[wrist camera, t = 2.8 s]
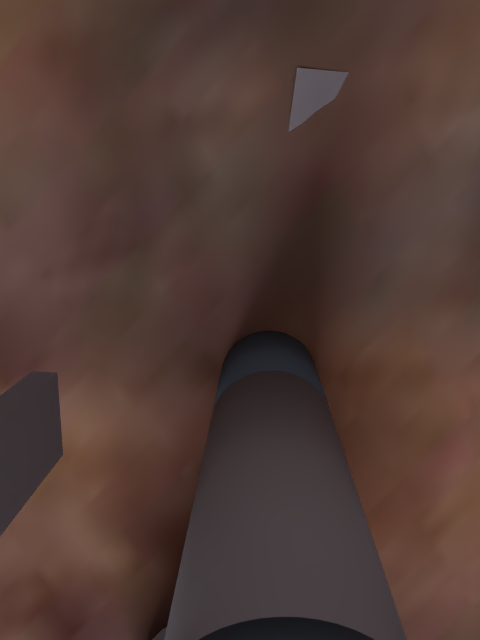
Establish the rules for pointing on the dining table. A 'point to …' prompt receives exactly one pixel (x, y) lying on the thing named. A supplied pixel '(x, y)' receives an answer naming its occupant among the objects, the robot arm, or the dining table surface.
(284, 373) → the cylinder
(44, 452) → the robot arm
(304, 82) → the small grey pieces
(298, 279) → the dining table surface
